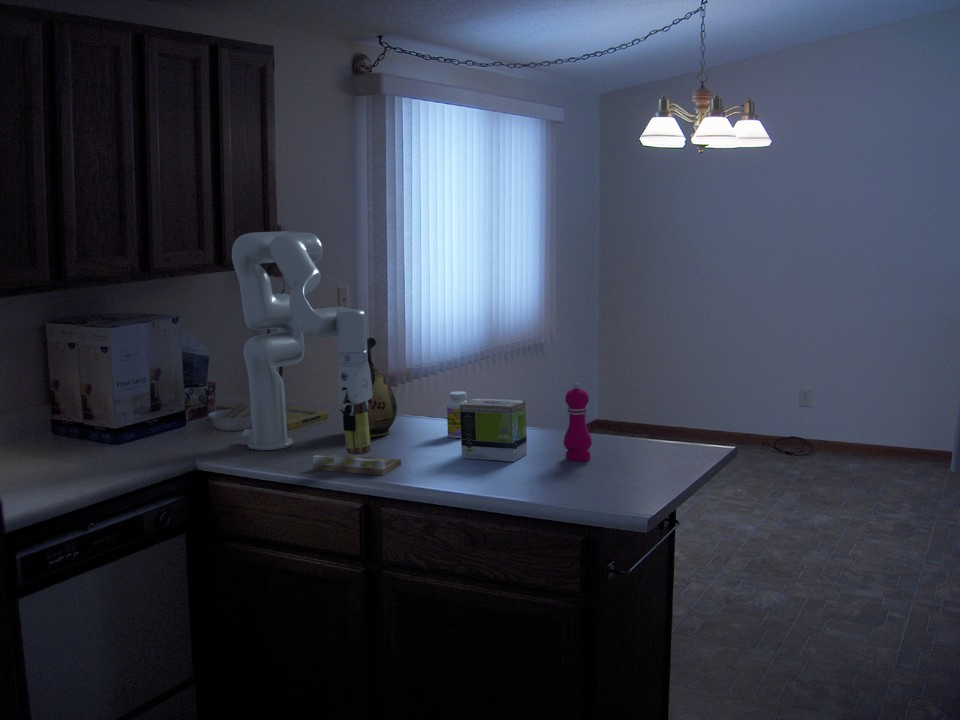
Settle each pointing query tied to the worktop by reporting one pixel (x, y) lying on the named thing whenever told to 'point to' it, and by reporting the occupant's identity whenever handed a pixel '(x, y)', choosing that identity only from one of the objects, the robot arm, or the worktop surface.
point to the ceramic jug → (380, 400)
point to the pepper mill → (577, 426)
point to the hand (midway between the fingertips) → (356, 427)
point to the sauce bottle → (359, 431)
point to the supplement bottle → (455, 413)
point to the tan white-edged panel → (355, 464)
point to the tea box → (493, 429)
